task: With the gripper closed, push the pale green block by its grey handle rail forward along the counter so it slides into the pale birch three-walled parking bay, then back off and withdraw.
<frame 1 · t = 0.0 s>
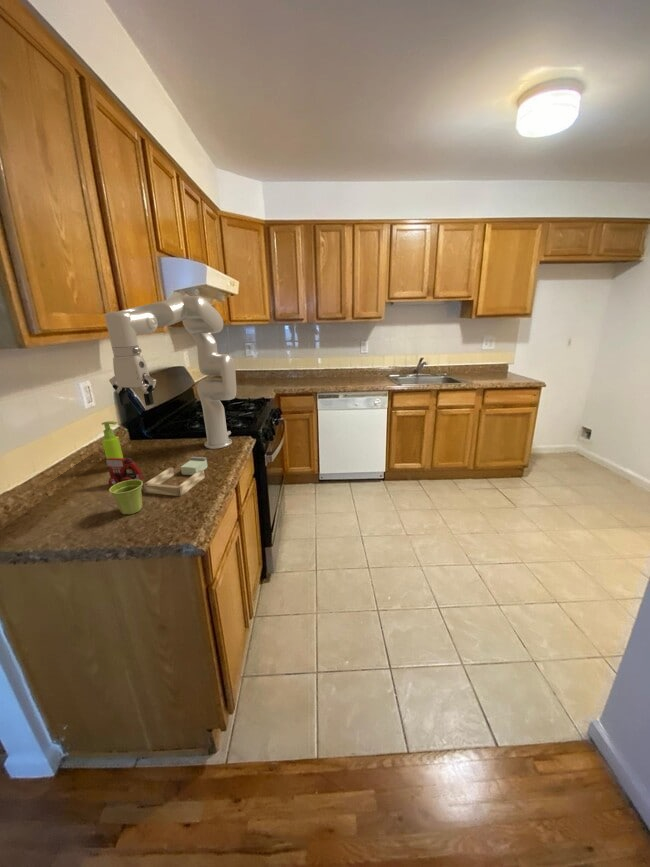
hand: (137, 404, 118), 31 cm above the worktop, fingers open, 9 cm apart
plant pot: (132, 510, 114), on the worktop
pale green block: (195, 471, 142), on the worktop
parking bay: (175, 484, 130), on the worktop
soap dispenser: (118, 468, 147), on the worktop
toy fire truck: (127, 484, 132), on the worktop
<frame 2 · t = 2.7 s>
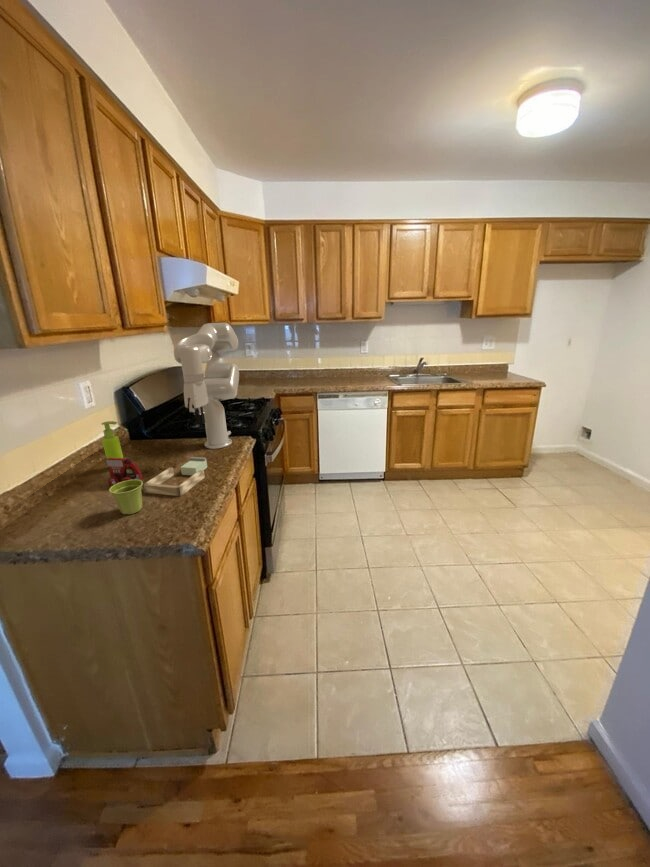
hand: (200, 423, 144), 17 cm above the worktop, fingers closed
nothing on the worktop moved.
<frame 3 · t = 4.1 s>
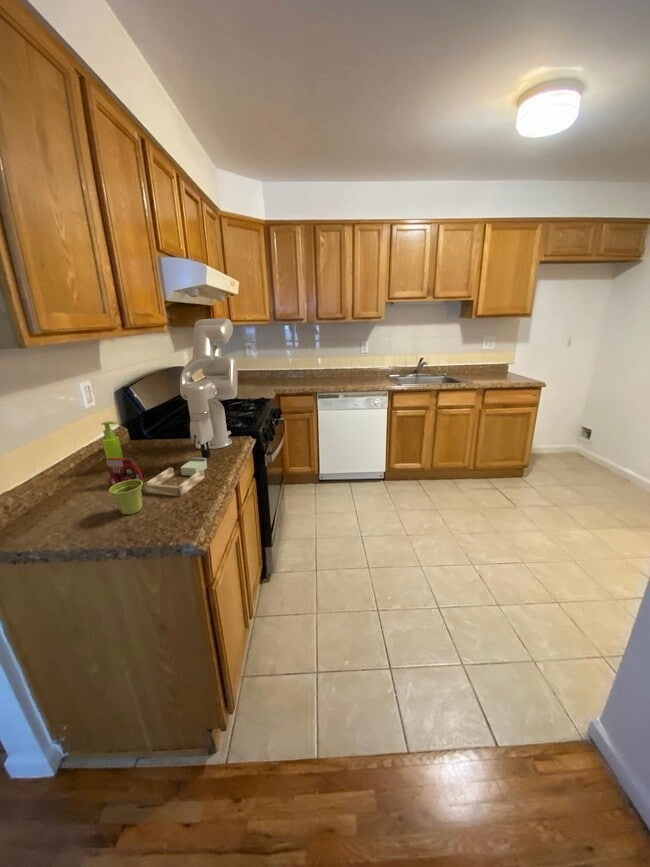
hand: (206, 457, 149), 2 cm above the worktop, fingers closed
nothing on the worktop moved.
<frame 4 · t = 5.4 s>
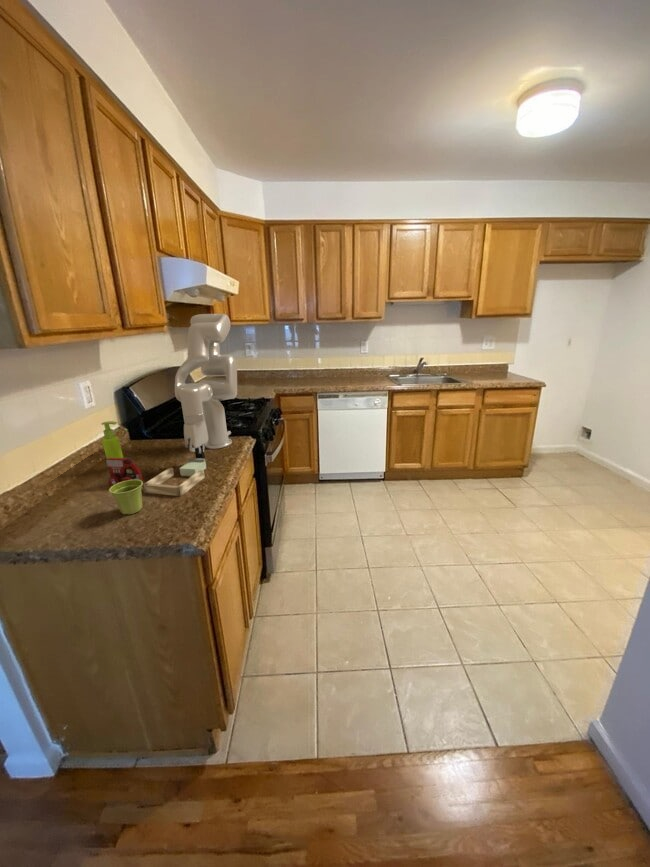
hand: (200, 461, 145), 2 cm above the worktop, fingers closed
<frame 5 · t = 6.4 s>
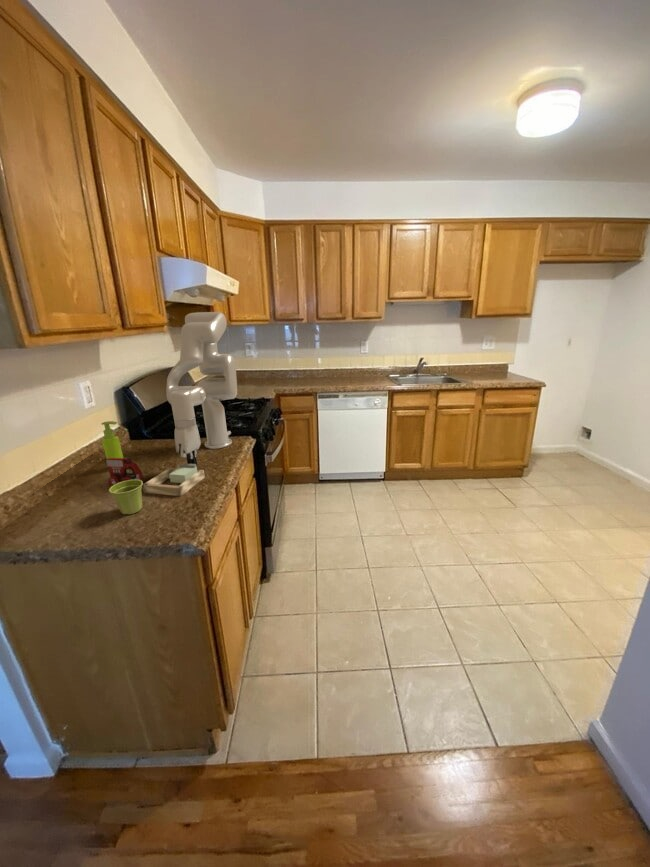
hand: (192, 466, 140), 2 cm above the worktop, fingers closed
pale green block: (184, 478, 135), on the worktop, touching gripper
everything else where it was.
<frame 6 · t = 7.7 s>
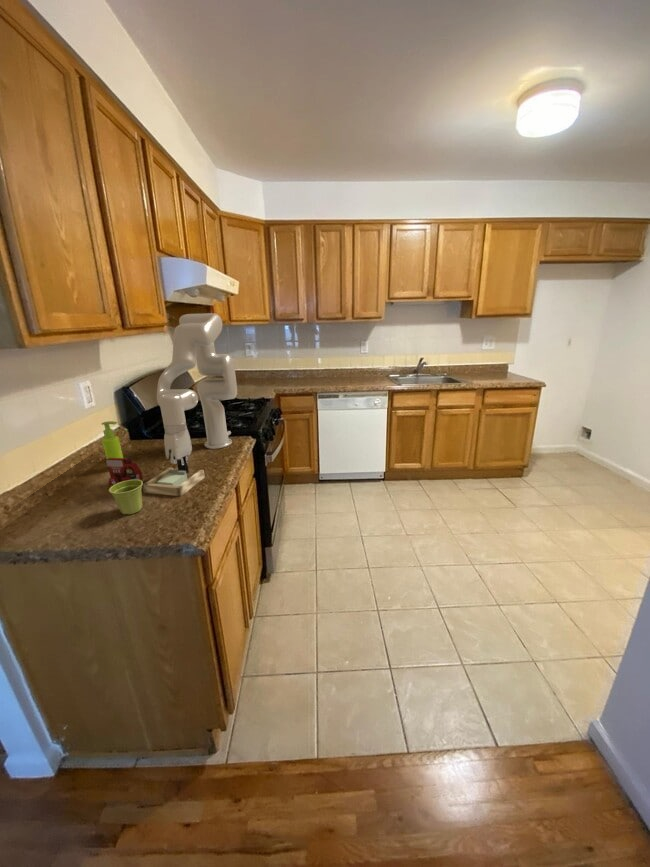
hand: (184, 473, 135), 2 cm above the worktop, fingers closed
pale green block: (173, 485, 130), on the worktop
everything else where it was.
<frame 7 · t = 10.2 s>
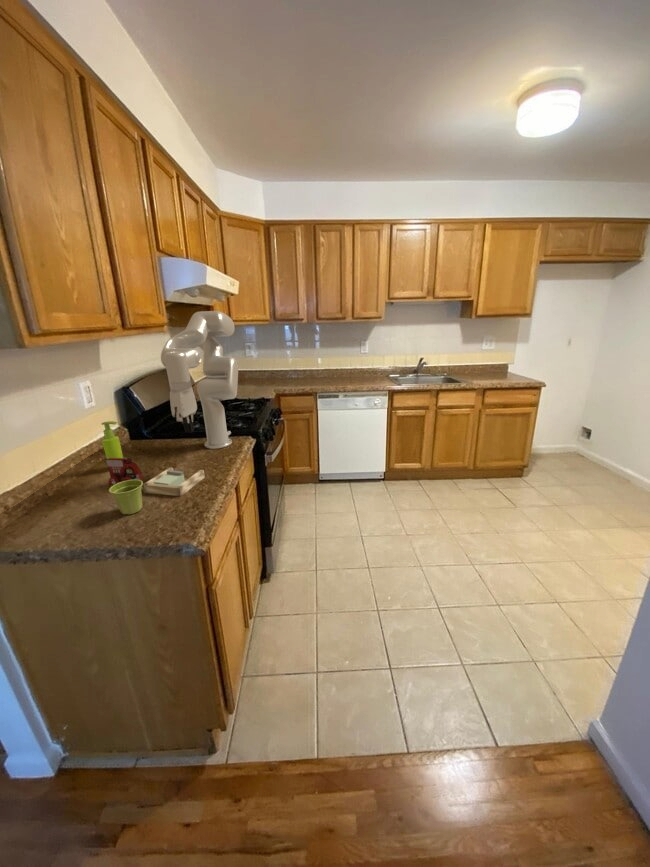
hand: (189, 431, 137), 16 cm above the worktop, fingers closed
pale green block: (170, 486, 129), on the worktop
everything else where it was.
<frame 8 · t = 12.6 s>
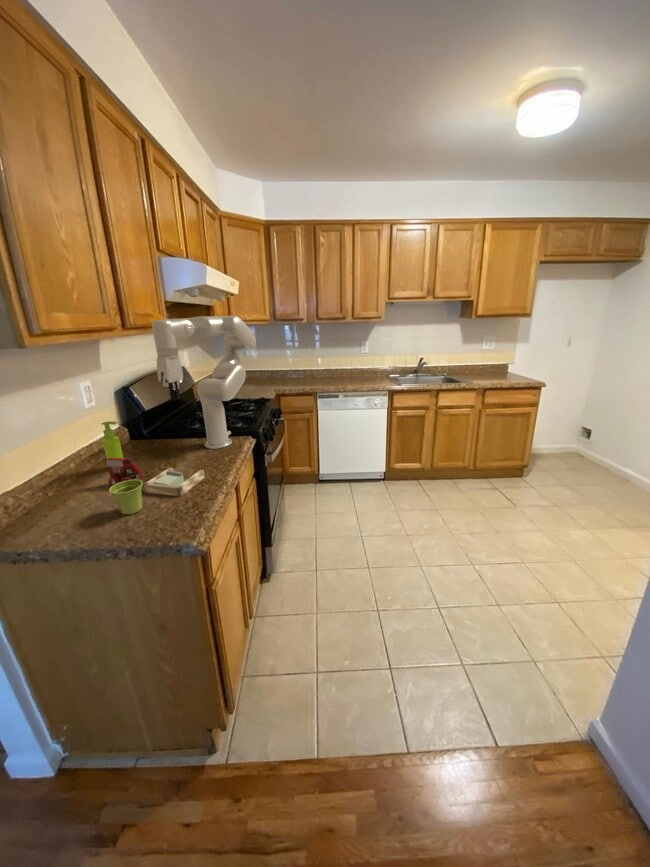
hand: (175, 398, 143), 27 cm above the worktop, fingers closed
nothing on the worktop moved.
at the end: pale green block inside the target area (1.6 cm from its centre), on the worktop; pale green block tilted 0° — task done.
